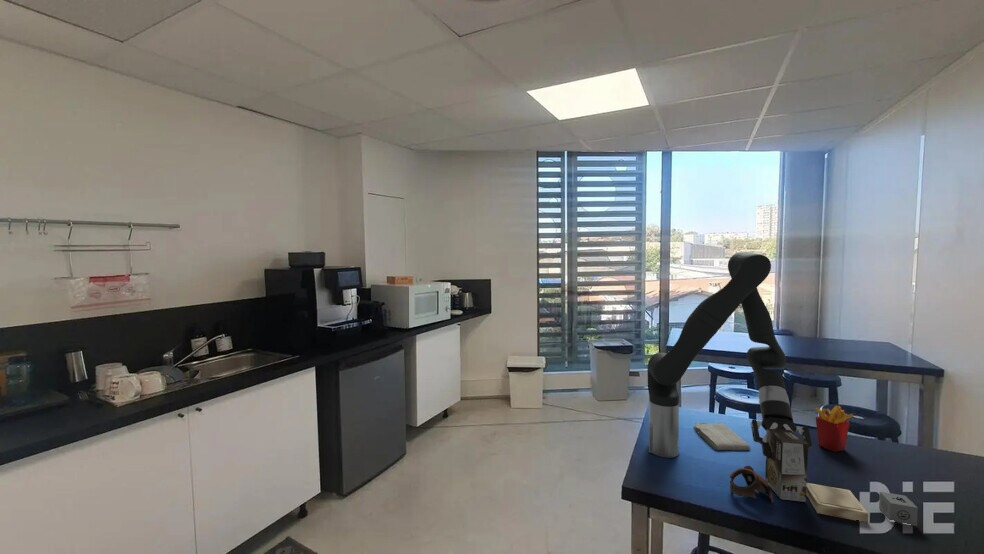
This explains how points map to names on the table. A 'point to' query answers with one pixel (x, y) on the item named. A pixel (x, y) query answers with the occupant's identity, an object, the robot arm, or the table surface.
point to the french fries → (832, 428)
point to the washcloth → (721, 437)
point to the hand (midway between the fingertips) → (785, 460)
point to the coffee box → (787, 464)
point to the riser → (835, 502)
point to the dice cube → (898, 508)
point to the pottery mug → (750, 483)
